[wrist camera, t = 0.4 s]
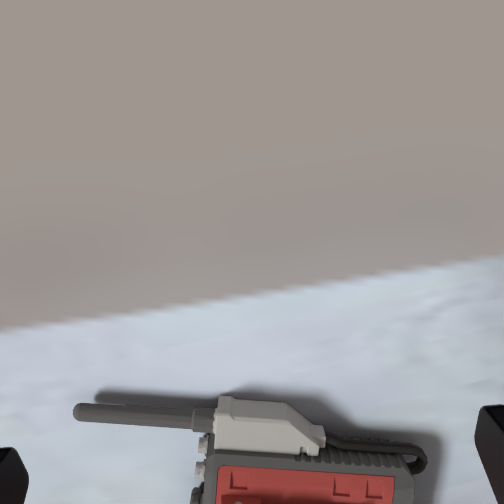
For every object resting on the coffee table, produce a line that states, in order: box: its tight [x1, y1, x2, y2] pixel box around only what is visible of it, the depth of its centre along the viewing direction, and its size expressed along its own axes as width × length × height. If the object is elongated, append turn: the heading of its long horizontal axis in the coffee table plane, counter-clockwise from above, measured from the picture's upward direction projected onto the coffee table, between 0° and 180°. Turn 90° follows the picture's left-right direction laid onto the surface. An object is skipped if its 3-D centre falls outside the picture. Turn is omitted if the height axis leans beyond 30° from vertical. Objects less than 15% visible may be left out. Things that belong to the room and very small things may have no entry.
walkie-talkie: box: [73, 396, 428, 504], centre depth 24 cm, size 9×4×20 cm
